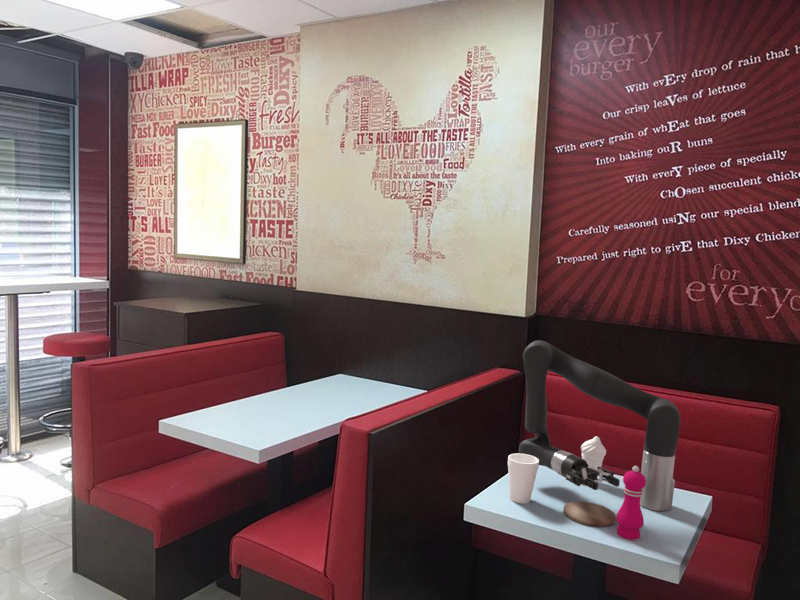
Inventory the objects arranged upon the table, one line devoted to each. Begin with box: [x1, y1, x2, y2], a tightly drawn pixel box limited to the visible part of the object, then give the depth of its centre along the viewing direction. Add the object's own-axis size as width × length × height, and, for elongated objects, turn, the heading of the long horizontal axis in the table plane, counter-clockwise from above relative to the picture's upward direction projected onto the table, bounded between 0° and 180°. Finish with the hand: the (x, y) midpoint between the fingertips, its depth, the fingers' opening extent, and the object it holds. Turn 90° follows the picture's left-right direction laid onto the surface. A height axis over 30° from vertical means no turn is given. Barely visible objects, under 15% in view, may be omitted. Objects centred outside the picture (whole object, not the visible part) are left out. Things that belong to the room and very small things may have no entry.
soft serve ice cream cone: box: [580, 436, 607, 482], centre depth 227 cm, size 8×8×16 cm
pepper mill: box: [616, 465, 646, 541], centre depth 187 cm, size 7×7×20 cm
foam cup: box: [507, 452, 540, 504], centre depth 207 cm, size 10×9×13 cm
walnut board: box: [562, 500, 617, 528], centre depth 200 cm, size 15×15×1 cm
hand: (608, 485), depth 195 cm, fingers open, 8 cm apart
